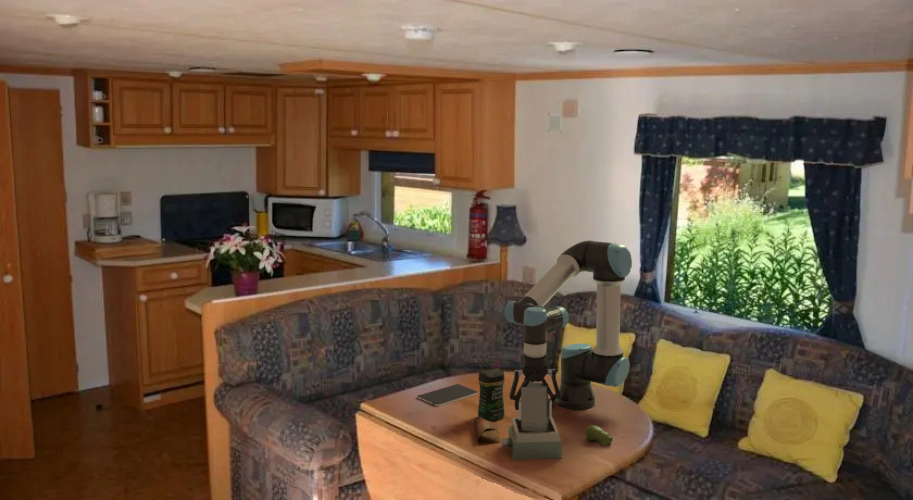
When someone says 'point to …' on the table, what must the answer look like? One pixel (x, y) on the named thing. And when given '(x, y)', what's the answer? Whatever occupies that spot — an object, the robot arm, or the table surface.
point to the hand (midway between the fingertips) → (534, 418)
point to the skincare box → (534, 407)
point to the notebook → (447, 395)
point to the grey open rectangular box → (533, 442)
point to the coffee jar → (491, 394)
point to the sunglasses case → (486, 431)
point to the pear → (598, 434)
